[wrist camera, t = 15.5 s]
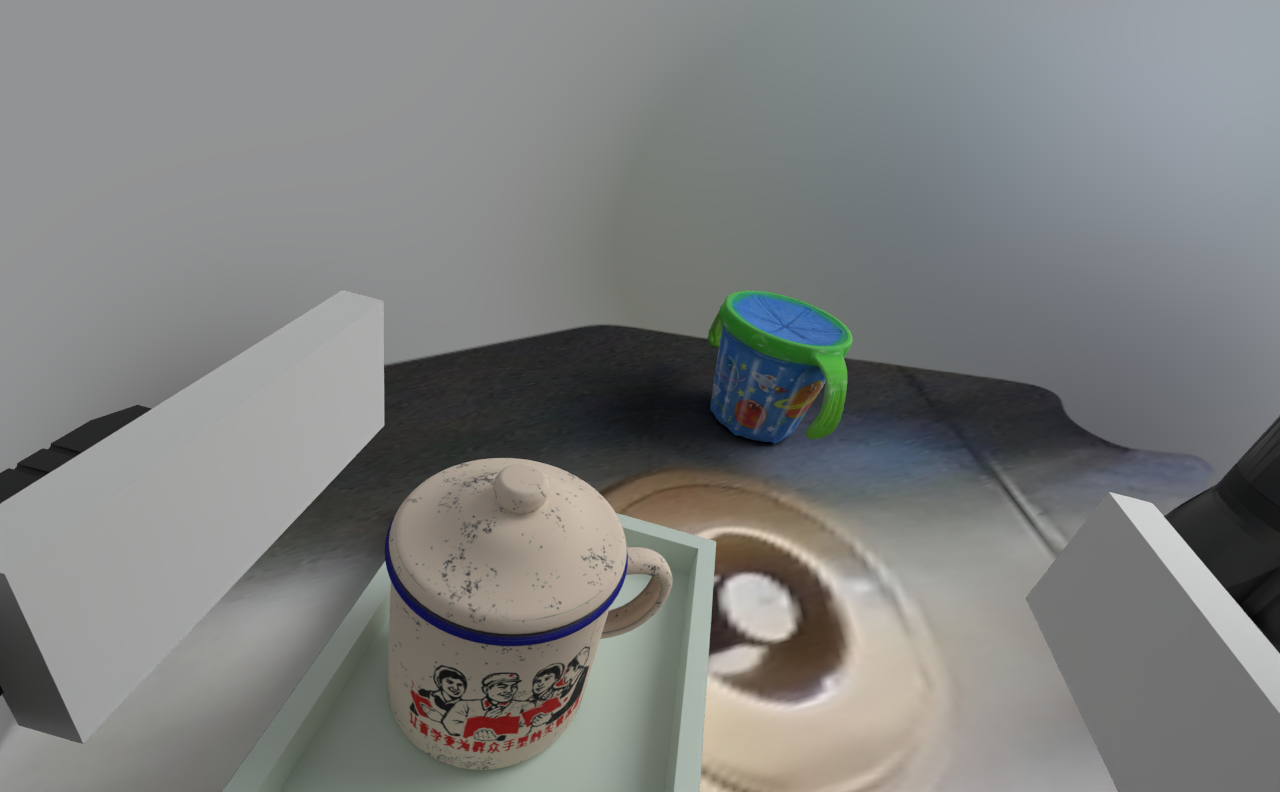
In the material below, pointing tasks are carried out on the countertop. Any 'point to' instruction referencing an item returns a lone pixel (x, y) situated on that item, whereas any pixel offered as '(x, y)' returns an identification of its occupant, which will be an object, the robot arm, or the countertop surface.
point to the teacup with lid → (504, 607)
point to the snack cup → (777, 366)
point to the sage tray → (565, 771)
